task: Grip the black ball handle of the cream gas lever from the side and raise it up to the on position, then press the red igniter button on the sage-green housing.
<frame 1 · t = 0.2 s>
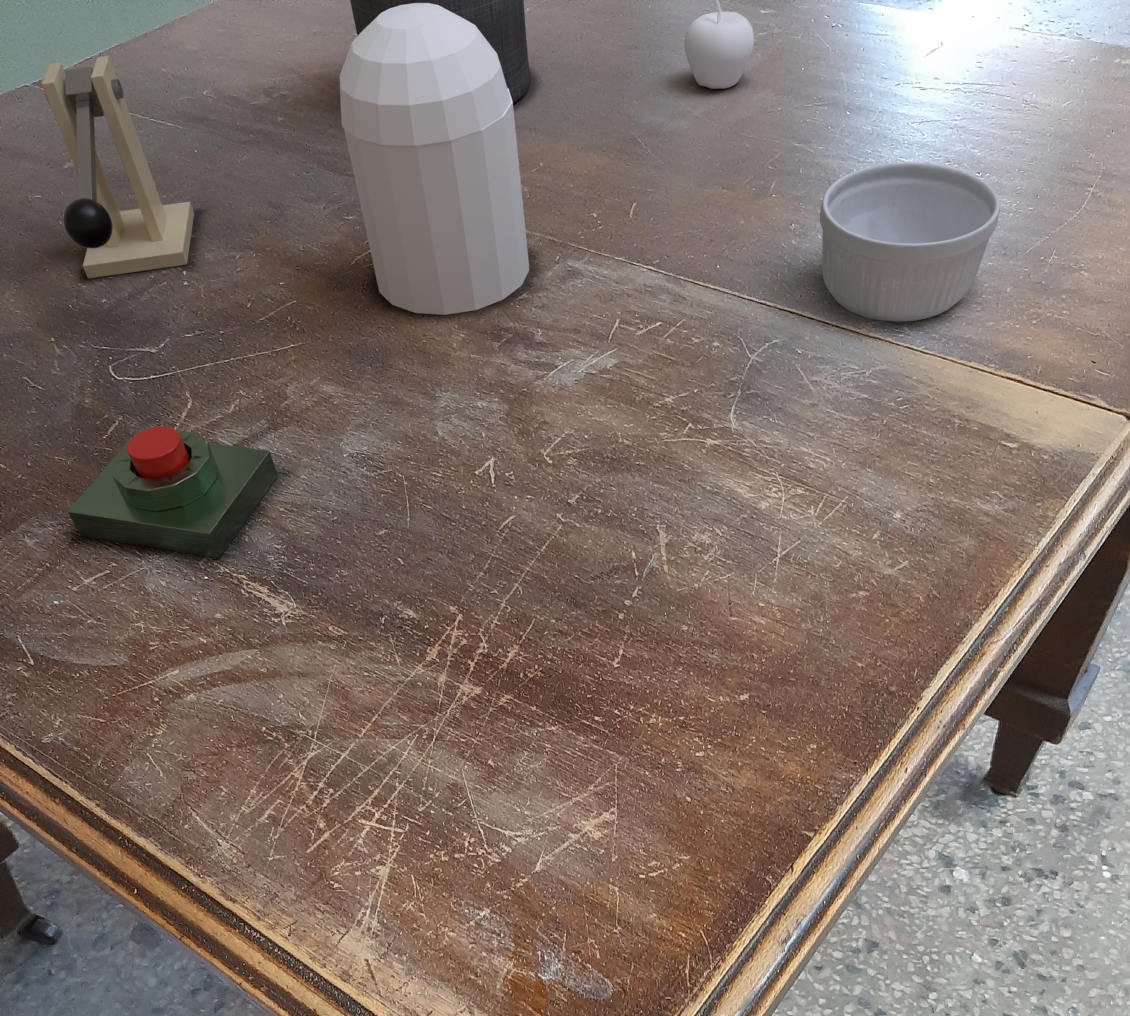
container: (453, 275, 94), on the table
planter: (450, 92, 118), on the table
igniter: (181, 505, 77), on the table
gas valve: (142, 245, 101), on the table
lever: (86, 158, 89), point 11 cm above the table, hinge at -20.0°
ramekin: (893, 289, 88), on the table
plain white apple: (717, 84, 115), on the table
button: (158, 452, 73), point 4 cm above the table, slide at 0.1 cm
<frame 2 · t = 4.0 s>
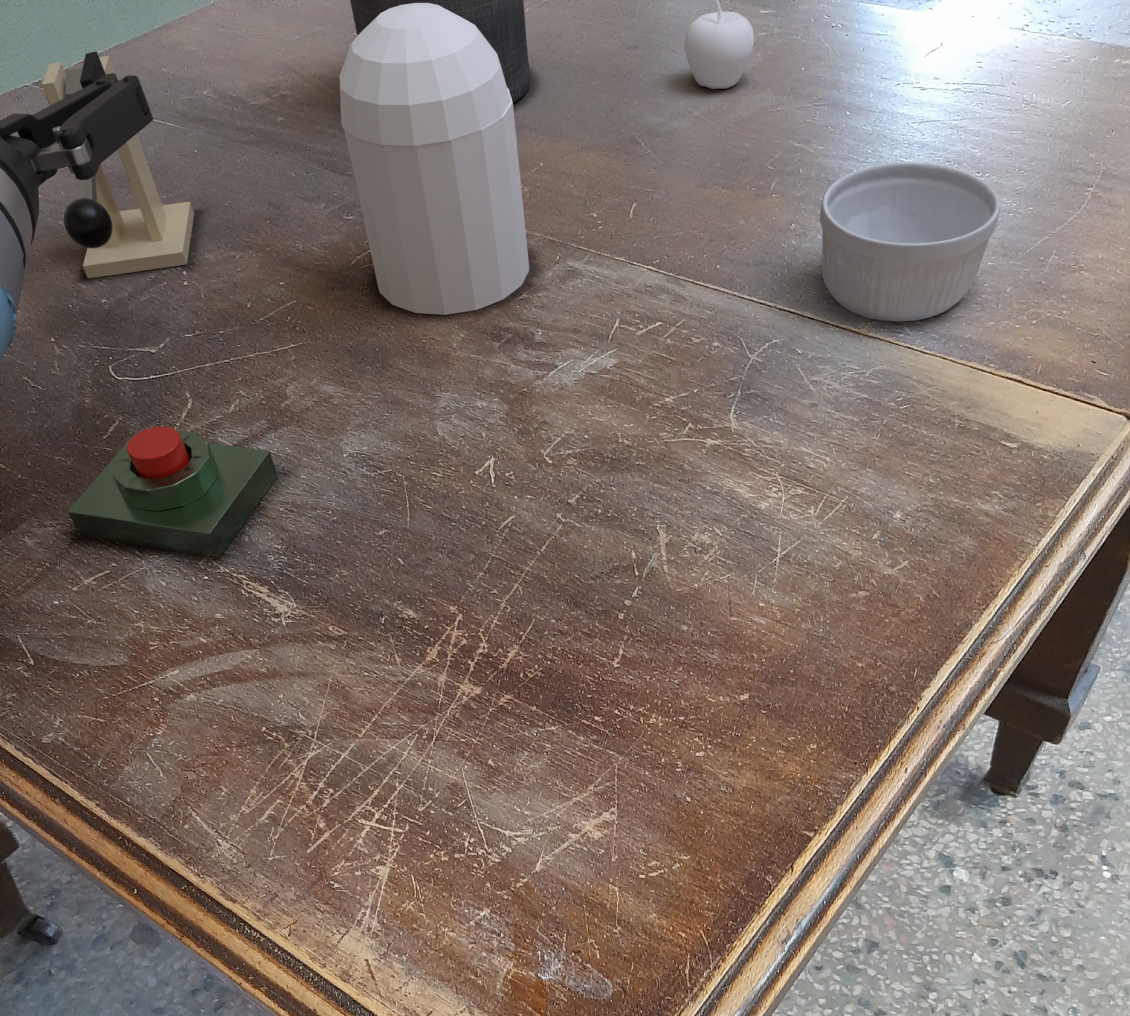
hand: (0, 96, 73), 20 cm above the table, tool horizontal, fingers open, 13 cm apart
nothing on the table moved.
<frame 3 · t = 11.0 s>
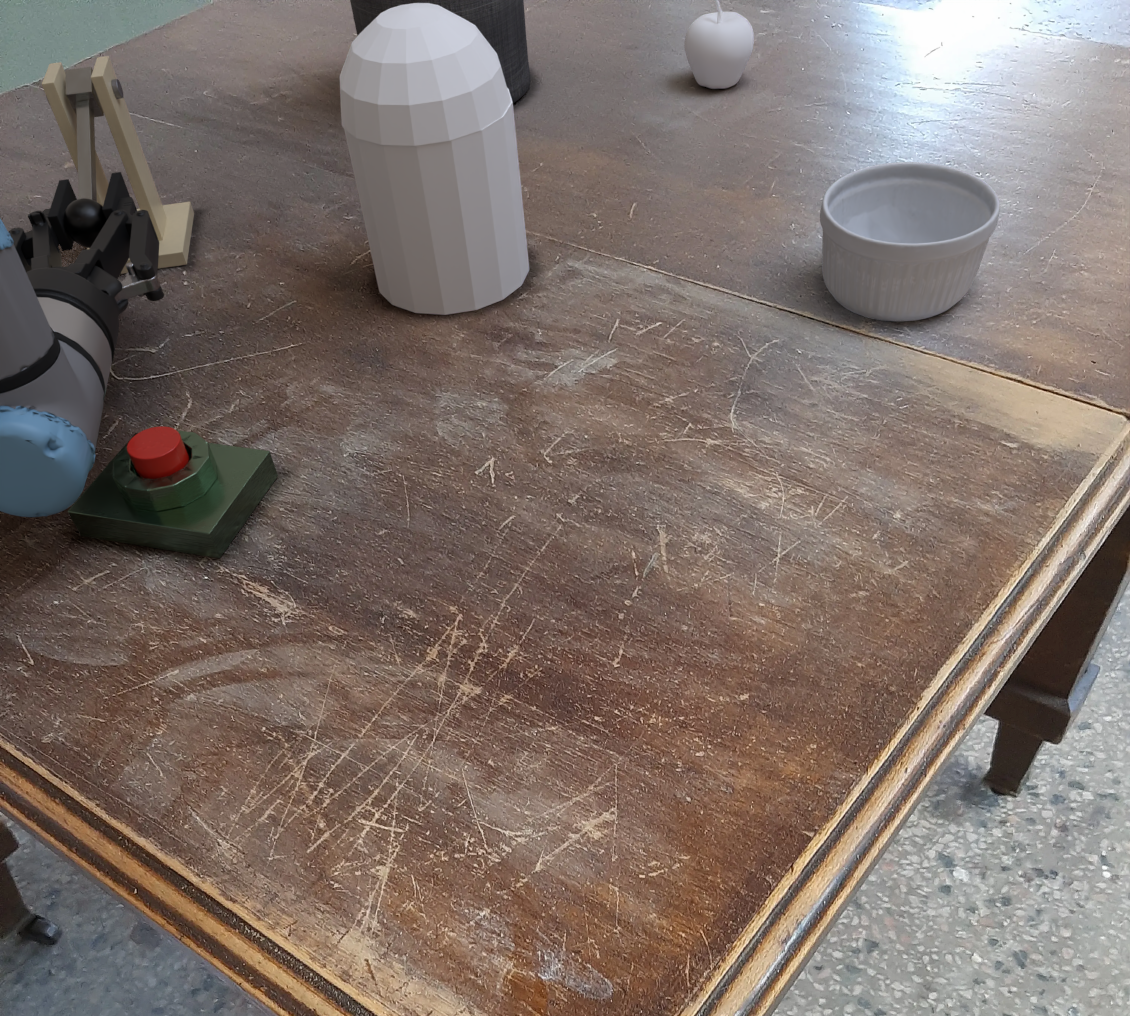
hand: (96, 192, 90), 8 cm above the table, tool horizontal, fingers closed on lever, 4 cm apart
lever: (86, 158, 89), point 11 cm above the table, hinge at -20.0°, touching gripper
everything else where it was.
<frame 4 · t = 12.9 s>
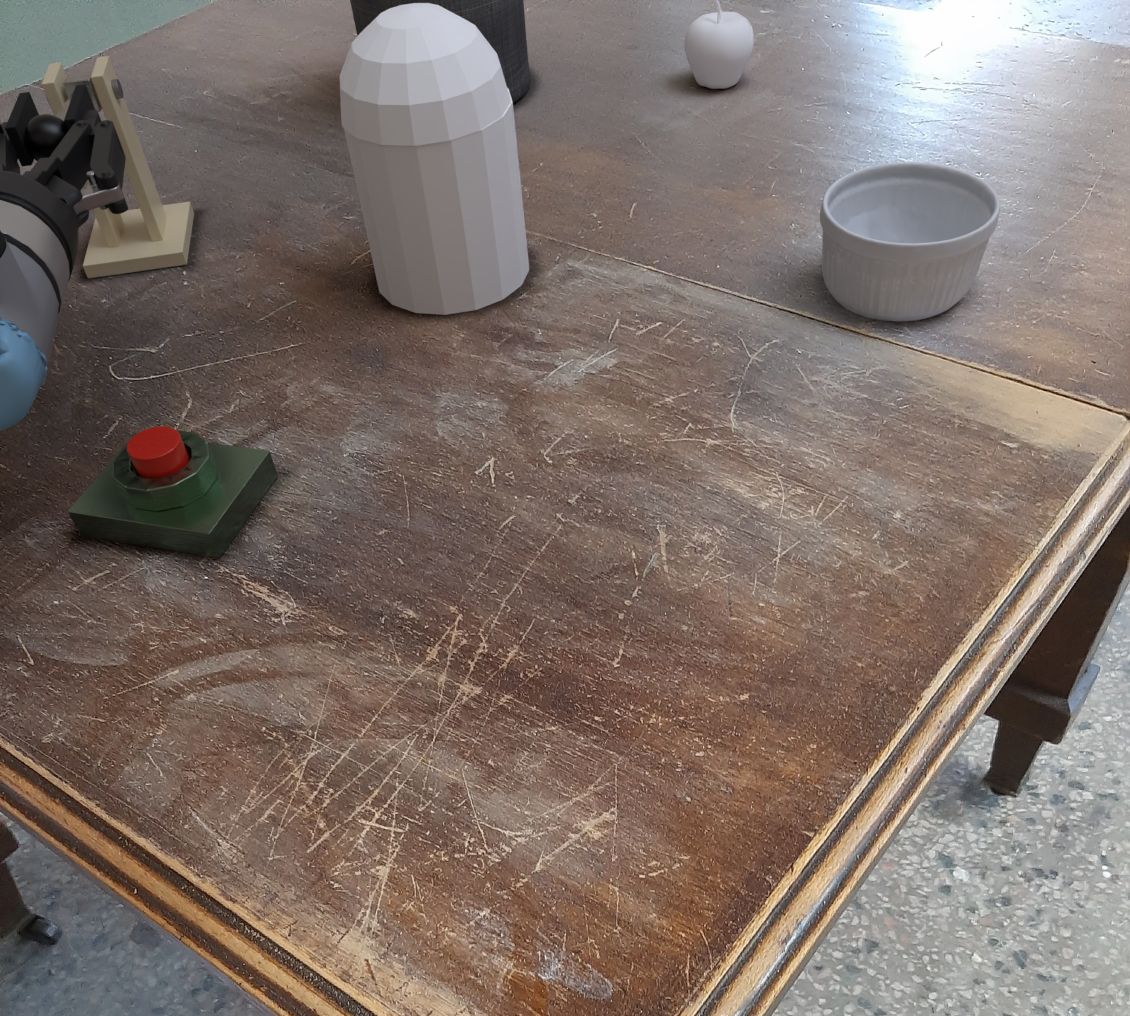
hand: (60, 107, 84), 15 cm above the table, tool horizontal, fingers closed on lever, 4 cm apart
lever: (68, 116, 86), point 14 cm above the table, hinge at 6.9°, touching gripper
everything else where it was.
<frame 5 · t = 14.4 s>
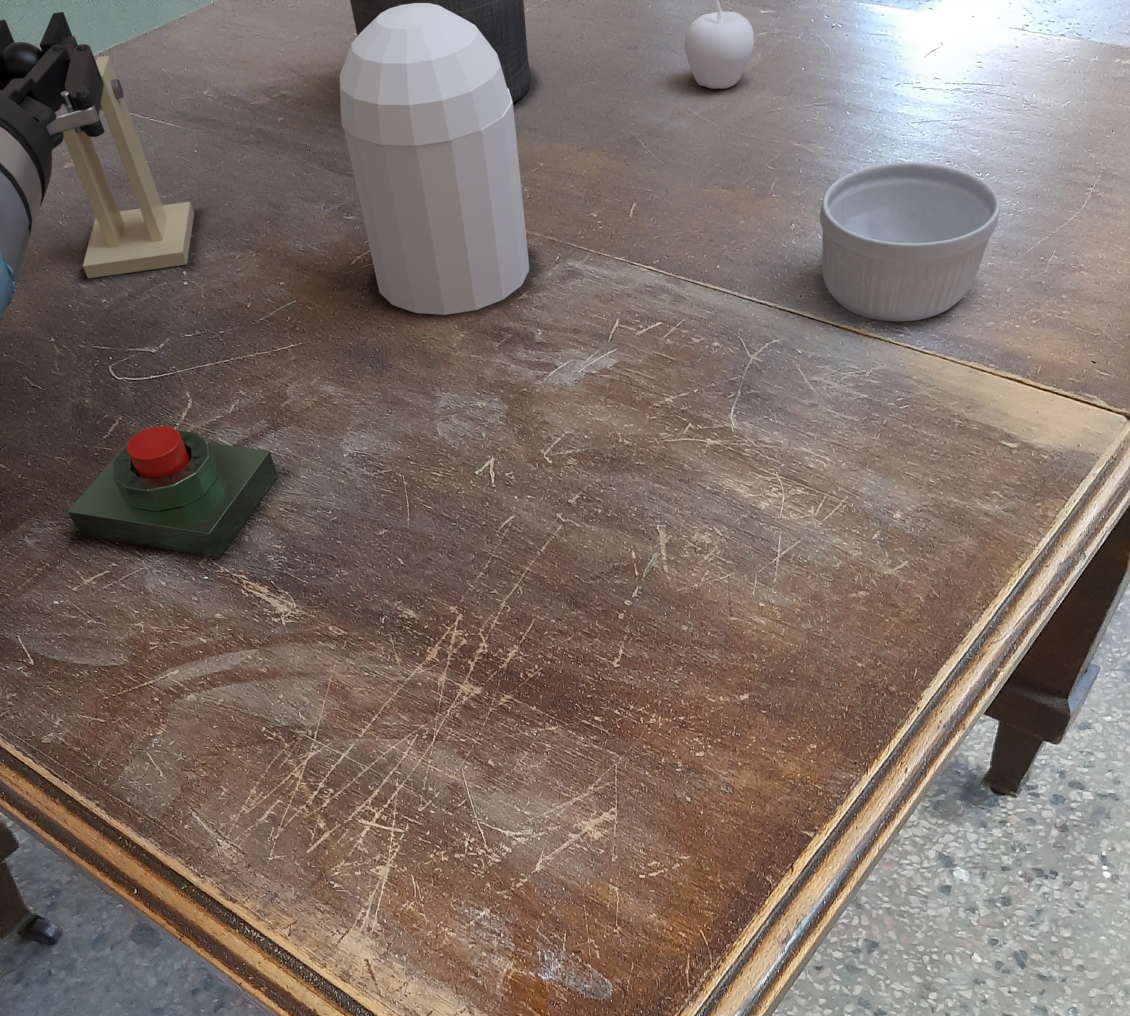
hand: (37, 36, 82), 19 cm above the table, tool horizontal, fingers closed on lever, 4 cm apart
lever: (57, 82, 84), point 16 cm above the table, hinge at 25.4°, touching gripper
everything else where it was.
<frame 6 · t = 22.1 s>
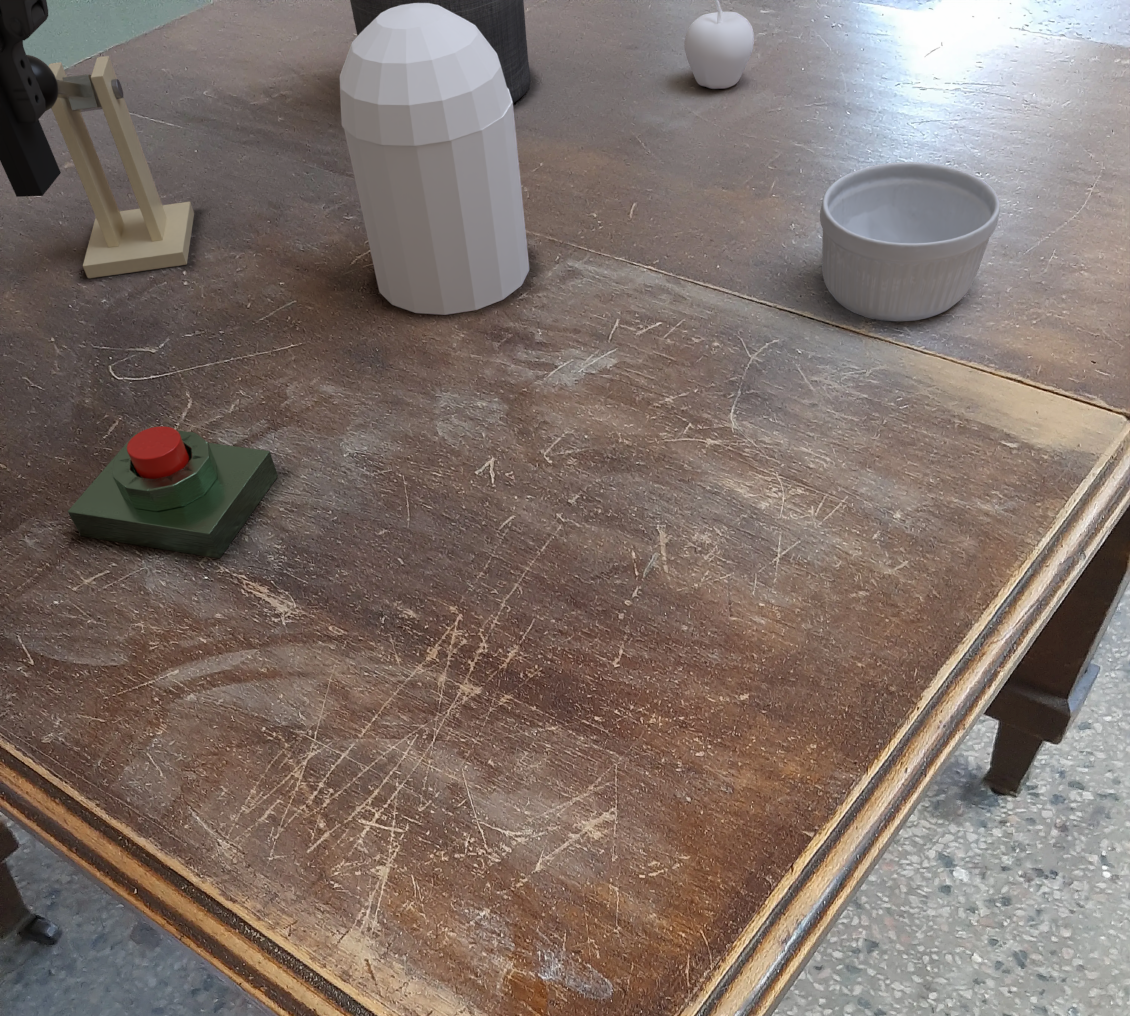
hand: (38, 184, 59), 22 cm above the table, tool pointing down, fingers closed
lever: (59, 88, 85), point 16 cm above the table, hinge at 22.2°
everything else where it was.
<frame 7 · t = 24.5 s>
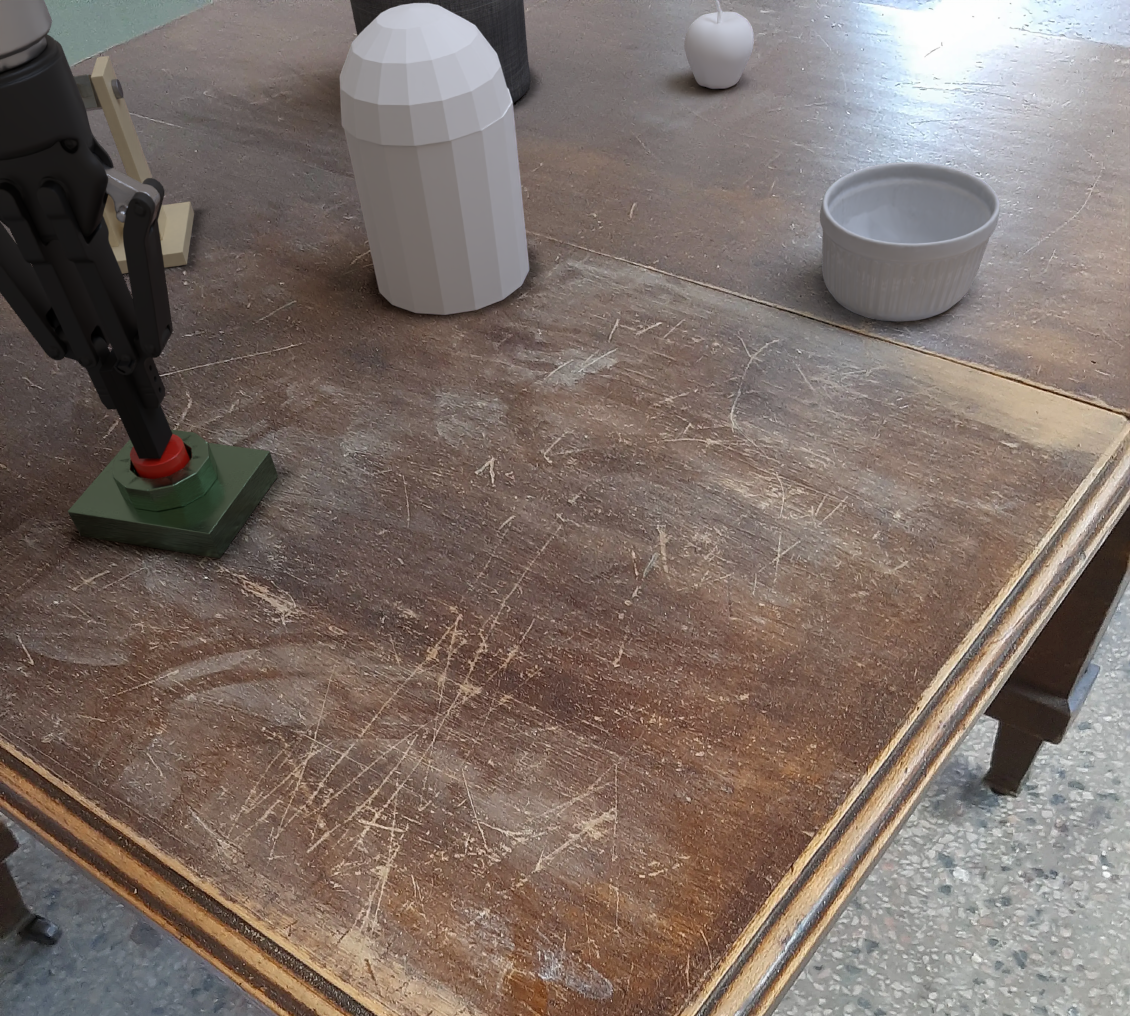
hand: (155, 445, 72), 5 cm above the table, tool pointing down, fingers closed
button: (161, 459, 73), point 4 cm above the table, slide at -0.4 cm, touching gripper
everything else where it was.
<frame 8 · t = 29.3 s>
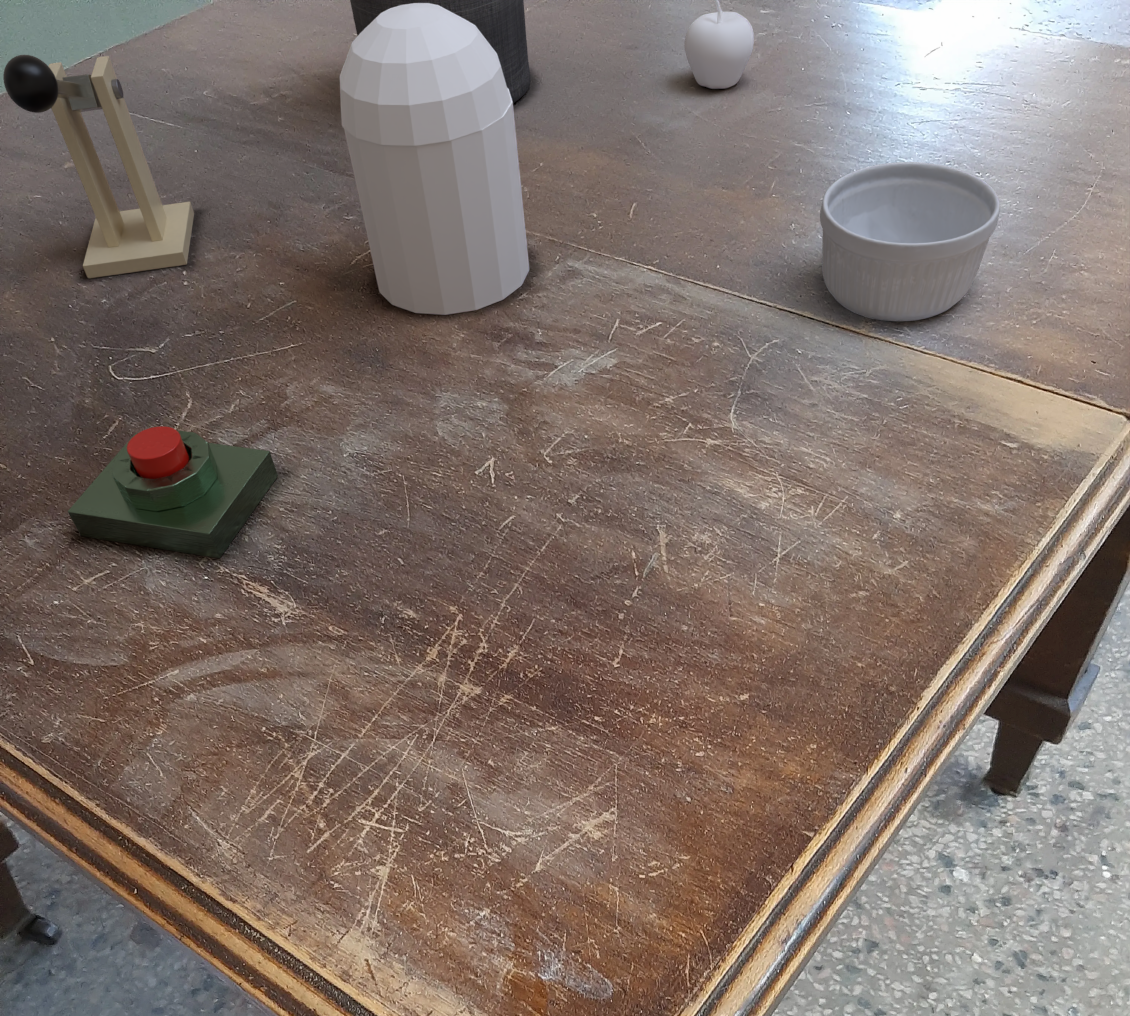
button: (158, 452, 73), point 4 cm above the table, slide at 0.1 cm
everything else where it was.
at the end: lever at +22° (first picture: -20°); button pushed in 1.0 cm at the most during the clip, back to where it started at the end; button slide at 0.1 cm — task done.
